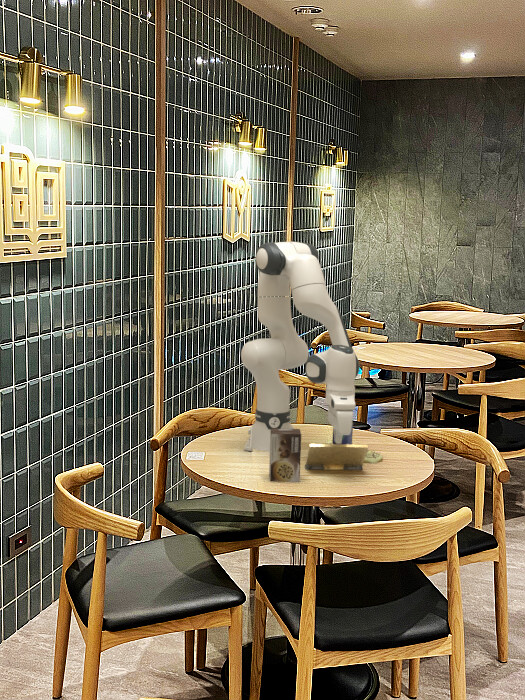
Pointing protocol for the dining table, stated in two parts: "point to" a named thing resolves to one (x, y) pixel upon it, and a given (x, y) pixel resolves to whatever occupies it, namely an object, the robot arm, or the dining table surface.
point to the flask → (345, 438)
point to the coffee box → (285, 455)
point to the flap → (336, 455)
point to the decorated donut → (372, 457)
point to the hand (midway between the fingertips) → (337, 442)
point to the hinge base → (321, 467)
